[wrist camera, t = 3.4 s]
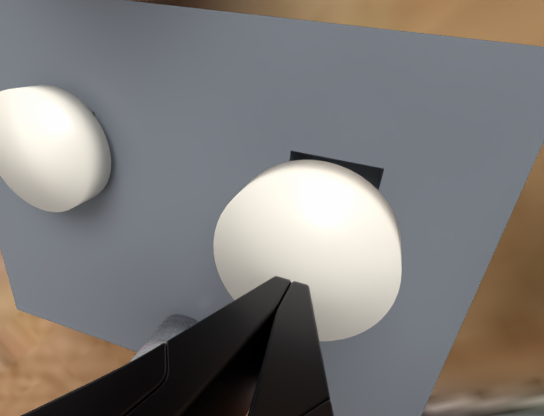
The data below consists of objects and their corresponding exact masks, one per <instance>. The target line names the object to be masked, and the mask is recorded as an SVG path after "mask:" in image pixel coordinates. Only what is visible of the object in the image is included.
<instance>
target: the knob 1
mask: <svg viewBox="0 0 544 416" xmlns="http://www.w3.org/2000/svg"><path fill="white" fill-rule="evenodd" d="M110 172H111V155H110V149H109V145H108V141H107V139H106V136H105V133H104V131H103V129H102V127H101V125H100V124H99V122H98V120H97V119H96V117H95V112H91V111H90V110H89V108H88V107H87V106H86V105H85V104H84V103H83V102H82V101H80V100H79V99H78V98H77V97H75V96H74V95H73V94H71V93H69V92H68V91H66V90H64V89H62V88H59V87H56V86H52V85H36V86H28V87H21V88H13V89H7V90H3V91H1V92H0V176H1V178H2V179H3V180H4V182H5V183H6V184H7V185H8V186H9V187H10V188H11V189H12V190H13V192H15V193H16V194H17V195H18V196H19V197H20V198H22V199H23V200H24V201H26V202H27V203H29V204H31V205H32V206H34V207H36V208H39V209H41V210H44V211H49V212H64V211H67V210H70V209H72V208H74V207H76V206H77V205H79V204H81V203H83V202H85V201H87V200H89V199H91V198H93V197H95V196H96V195H98V194H99V193H100V192H101V191H102V190H103V189H104V188H105V186H106V184H107V182H108V180H109V176H110Z"/></svg>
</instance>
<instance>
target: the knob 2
mask: <svg viewBox="0 0 544 416" xmlns="http://www.w3.org/2000/svg"><path fill="white" fill-rule="evenodd" d="M213 247H214V258H215V264H216V267H217V270H218V273H219V275H220V278H221V280H222V282H223V284H224V286H225V287H226V289H227V291H228V292H229V294H230V295H231V296H232V298H233V299H234V300H236V299H237V298H239V297H241V296H242V295H244V294H246V293H247V292H249V291H251V290H252V289H254V288H256V287H257V286H259V285H261V284H262V283H264V282H266V281H267V280H269V279H271V278H272V277H274V276H279V277H282V278H286V279H289V280H290V281H291V283H292V282H293V281H296V282H300V283H303V284H307V285H308V286H309V288H310V293H311V299H312V304H313V309H314V314H315V320H316V325H317V330H318V336H319V341H335V340H341V339H346V338H349V337H352V336H355V335H358V334H360V333H362V332H364V331H366V330H368V329H369V328H371V327H373V326H374V325H375V324H376V323H378V322H379V321H380V320H381V319H382V318H383V317H384V316H385V315H386V314H387V312H388V311H389V310H390V308H391V307H392V305H393V303H394V302H395V299H396V297H397V294H398V292H399V287H400V283H401V272H402V264H401V236H400V230H399V226H398V222H397V219H396V217H395V215H394V212H393V210H392V209H391V207H390V205H389V204H388V202H387V200H386V199H385V198H384V197H383V195H382V194H381V193H380V192H379V191H378V190H377V189H376V188H375V187H374V186H373V185H372V184H371V183H370V182H369V181H367V180H366V179H364V178H363V177H362V176H360V175H359V174H357V173H355V172H353V171H351V170H350V169H347V168H345V167H342V166H340V165H337V164H334V163H330V162H326V161H319V160H295V161H288V162H284V163H281V164H278V165H275V166H273V167H270V168H268V169H267V170H265V171H263V172H262V173H260V174H259V175H257V176H256V177H255V178H254V179H253V180H251V181H250V182H249V183H248V184H247V185H246V186H245V187H244V188H243V189H242V190H241V191H240V192H239V193H238V194H237V195H236V196H235V197H234V198H233V199H232V200H231V201H230V203H229V204H228V205H227V206H226V208H225V209H224V211H223V212H222V214H221V216H220V218H219V220H218V223H217V226H216V229H215V233H214V242H213Z"/></svg>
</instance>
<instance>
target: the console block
mask: <svg viewBox="0 0 544 416" xmlns="http://www.w3.org/2000/svg"><path fill="white" fill-rule="evenodd" d="M36 85H52V86H56V87H59V88H62V89H64V90H66V91H68V92H69V93H71V94H73V95H74V96H75V97H77V98H78V99H79V100H80V101H82V102H83V103H84V104H85V105H86V106H87V107H88V108H89V110H90V111H91V112H95V117H96V119H97V120H98V122H99V124H100V125H101V127H102V129H103V131H104V133H105V136H106V139H107V141H108V145H109V149H110V155H111V172H110V176H109V180H108V182H107V184H106V186H105V188H104V189H103V190H102V191H101V192H100V193H99V194H98V195H96V196H95V197H93V198H91V199H89V200H87V201H85V202H83V203H81V204H79V205H77V206H76V207H74V208H72V209H70V210H67V211H64V212H49V211H44V210H41V209H39V208H36V207H34V206H32V205H31V204H29V203H27V202H26V201H24V200H23V199H22V198H20V197H19V196H18V195H17V194H16V193H15V192H13V190H12V189H11V188H10V187H9V186H8V185H7V184H6V183H5V182H4V180H3V179H2V178H1V176H0V248H1V252H2V256H3V259H4V263H5V267H6V270H7V274H8V278H9V281H10V285H11V289H12V292H13V296H14V300H15V303H16V307H17V309H18V310H20V311H23V312H26V313H29V314H32V315H34V316H37V317H40V318H43V319H46V320H49V321H51V322H54V323H57V324H60V325H63V326H65V327H68V328H71V329H74V330H77V331H79V332H82V333H85V334H88V335H91V336H94V337H96V338H99V339H102V340H105V341H108V342H110V343H113V344H116V345H119V346H122V347H124V348H127V349H130V350H133V351H136V352H138V351H139V350H140V349H141V348H142V346H143V345H144V344H145V343H146V341H147V340H148V339H149V338H150V337H151V335H152V334H153V333H154V332H155V331H156V329H157V328H158V327H159V326H160V325H161V323H162V322H163V321H164V320H165V319H166V318H167V317H168V316H171V315H175V314H180V315H185V316H188V317H191V318H193V319H195V320H196V321H198V322H199V321H201V320H202V319H204V318H206V317H207V316H209V315H211V314H212V313H214V312H216V311H217V310H219V309H221V308H222V307H224V306H226V305H227V304H229V303H231V302H232V301H234V299H233V298H232V296H231V295H230V294H229V292H228V291H227V289H226V287H225V286H224V284H223V282H222V280H221V278H220V275H219V273H218V270H217V267H216V264H215V258H214V247H213V242H214V233H215V229H216V226H217V223H218V220H219V218H220V216H221V214H222V212H223V211H224V209H225V208H226V206H227V205H228V204H229V203H230V201H231V200H232V199H233V198H234V197H235V196H236V195H237V194H238V193H239V192H240V191H241V190H242V189H243V188H244V187H245V186H246V185H247V184H248V183H249V182H250V181H251V180H253V179H254V178H255V177H256V176H257V175H259V174H260V173H262V172H263V171H265V170H267V169H268V168H270V167H273V166H275V165H278V164H281V163H284V162H288V161H295V160H319V161H326V162H330V163H334V164H337V165H340V166H342V167H345V168H347V169H350V170H351V171H353V172H355V173H357V174H359V175H360V176H362V177H363V178H364V179H366V180H367V181H369V182H370V183H371V184H372V185H373V186H374V187H375V188H376V189H377V190H378V191H379V192H380V193H381V194H382V195H383V197H384V198H385V199H386V200H387V202H388V204H389V205H390V207H391V209H392V210H393V212H394V215H395V217H396V219H397V222H398V226H399V230H400V236H401V264H402V272H401V283H400V287H399V292H398V294H397V297H396V299H395V302H394V303H393V305H392V307H391V308H390V310H389V311H388V312H387V314H386V315H385V316H384V317H383V318H382V319H381V320H380V321H379V322H378V323H376V324H375V325H374V326H373V327H371V328H369V329H368V330H366V331H364V332H362V333H360V334H358V335H355V336H352V337H349V338H346V339H341V340H335V341H320V346H321V351H322V357H323V362H324V367H325V373H326V378H327V383H328V388H329V394H330V401H331V403H332V409H333V414H334V416H421V415H422V413H423V410H424V408H425V406H426V404H427V401H428V399H429V397H430V395H431V392H432V390H433V388H434V386H435V383H436V381H437V379H438V377H439V375H440V372H441V370H442V368H443V366H444V363H445V361H446V359H447V357H448V354H449V352H450V350H451V348H452V345H453V343H454V341H455V339H456V336H457V334H458V332H459V330H460V328H461V325H462V323H463V321H464V319H465V316H466V314H467V312H468V310H469V307H470V305H471V303H472V301H473V298H474V296H475V294H476V292H477V290H478V287H479V285H480V283H481V281H482V278H483V276H484V274H485V272H486V269H487V267H488V265H489V263H490V260H491V258H492V256H493V254H494V251H495V249H496V247H497V245H498V243H499V240H500V238H501V236H502V234H503V231H504V229H505V227H506V225H507V222H508V220H509V218H510V216H511V213H512V211H513V209H514V207H515V205H516V202H517V200H518V198H519V196H520V193H521V191H522V189H523V187H524V184H525V182H526V180H527V178H528V175H529V173H530V171H531V169H532V166H533V164H534V162H535V160H536V158H537V155H538V153H539V151H540V149H541V146H542V144H543V142H544V47H541V46H532V45H523V44H514V43H505V42H496V41H487V40H478V39H469V38H460V37H451V36H442V35H433V34H424V33H415V32H406V31H397V30H388V29H379V28H370V27H361V26H352V25H343V24H334V23H325V22H316V21H307V20H298V19H289V18H280V17H271V16H262V15H253V14H244V13H235V12H226V11H217V10H208V9H199V8H190V7H181V6H172V5H163V4H154V3H145V2H136V1H127V0H0V92H1V91H3V90H7V89H13V88H21V87H28V86H36Z"/></svg>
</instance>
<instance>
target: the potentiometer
mask: <svg viewBox="0 0 544 416" xmlns="http://www.w3.org/2000/svg"><path fill="white" fill-rule="evenodd" d="M196 323H198V321H196V320H195V319H193V318H191V317H188V316H185V315H180V314H175V315H171V316H168V317H167V318H166V319H165V320H164V321H163V322H162V323H161V325H160V326H159V327H158V328H157V329H156V331H155V332H154V333H153V334H152V335H151V337H150V338H149V339H148V340H147V341H146V343H145V344H144V345H143V346H142V348H141V349H140V350H139V351H138V352H137V354H136V355H135V356H134V357H133V358H132V360H131V361H133V360H135V359H137V358H138V357H140V356H142V355H144V354H145V353H147V352H149V351H151V350H152V349H154V348H156V347H157V346H159V345H161V344H162V343H166V342H167V341H168V340H169V339H171V338H173V337H174V336H176V335H178V334H179V333H181V332H183V331H184V330H186V329H188V328H189V327H191V326H193V325H194V324H196ZM131 361H130V362H131ZM130 362H129V363H130Z"/></svg>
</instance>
